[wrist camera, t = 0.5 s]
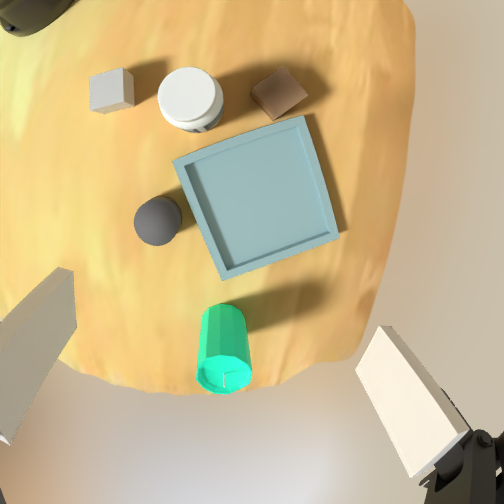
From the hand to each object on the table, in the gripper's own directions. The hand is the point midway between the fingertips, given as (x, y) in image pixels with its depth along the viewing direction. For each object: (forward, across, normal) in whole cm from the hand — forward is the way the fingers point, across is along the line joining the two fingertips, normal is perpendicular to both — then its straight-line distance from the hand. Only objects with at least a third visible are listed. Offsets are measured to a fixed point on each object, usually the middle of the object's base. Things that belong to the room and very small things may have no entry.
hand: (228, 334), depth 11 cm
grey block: (+24, -16, +11) cm, 30 cm away
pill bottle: (+24, -6, +10) cm, 26 cm away
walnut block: (+24, +2, +14) cm, 27 cm away
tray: (+23, +4, +2) cm, 24 cm away
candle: (+23, +3, -15) cm, 28 cm away
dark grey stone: (+23, -7, -2) cm, 25 cm away
